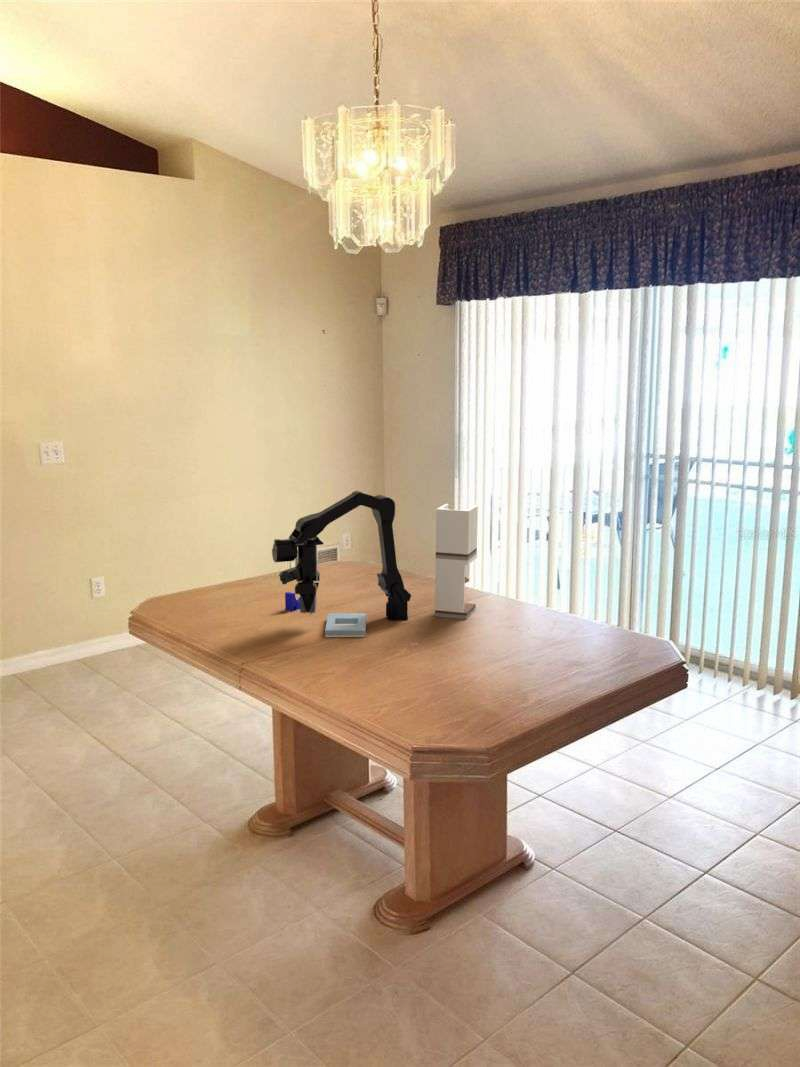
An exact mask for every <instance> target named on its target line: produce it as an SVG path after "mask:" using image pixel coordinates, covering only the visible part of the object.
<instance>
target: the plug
mask: <svg viewBox="0 0 800 1067" xmlns="http://www.w3.org/2000/svg"><path fill="white" fill-rule="evenodd" d="M299 597H300V609H299V612H300V614H309V615H313V614H314V613H316V609H317V594H316V595H315V598H314V600H313V603H312V606H311V608H310V611H309V612H306V610H305V606H304V602H303V599H302V596H301V595H300V594H299Z"/></svg>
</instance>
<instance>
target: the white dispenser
mask: <svg viewBox="0 0 800 1067" xmlns="http://www.w3.org/2000/svg"><path fill="white" fill-rule="evenodd" d="M449 505H450V504H449V503H445V504H443V505H441V506H440V507H437V508H436V511H435V570H434V571H435V572H434V573H435V576H434V577H435V578H434V579H435V580H434V582H435V583H434V585H435V586H434V588H435V589H434V616H435V617H439V618H448V619H449V618H451V619H461V620H468V619H469V618H470V617H471V615H472V614H473V613H475V612H476V609H477V608H476V603H468V602H465V594H466V593H465V590H466V589H465V588H466V587H465V585H466V584H467V583H468V582H470V578H471V577H470V574H471V573H470V571H471V570H470V569H471V568H470V567H471V566H470V565H471V563H472V562H473V561H474V560H475V559H476V558H478V555H477V554H478V514H479V513H478V512H479V510H478V506H479V505H477V504H475V505H473V506H472V507H470V508H467V509H450V508H449ZM469 616H470V617H469Z"/></svg>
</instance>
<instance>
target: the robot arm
mask: <svg viewBox="0 0 800 1067" xmlns="http://www.w3.org/2000/svg"><path fill="white" fill-rule="evenodd" d="M360 506H363V507H366V508H369V509H371V512H372V515H373V518H374V520H375V521H376V522H375V523H376V524H377V530H378V538H379V545H380V546H379V548H380V556H381V563H382V564H381V565H382V570H381V571H380V573H379V572H377V573H376V575H377V576H376V577H377V579H378V580H377V582H378V583H377V586H378V587H380V589H381V591H382V592H383V593H384V594H385V596H386V597H387V601H386V602H385V616H386V618H387V621H390V620H391V621H408V620H409V616H408V614H409V613H408V610H409V608H408V607H409V606H408V603H409V602H410V601H411V598H412V594H411V593H410V592H409V591H408V590H407V589H406V588H405V585H404V581H403V577H402V574H401V573H400V570H399V569H398V568H399V567H398V563H397V556H396V555H397V554H396V545H395V538H394V536H395V535H394V529H393V523H394V520H395V515H396V503H395V500H394V499H393V498H390V497H387V496H386V495H383V494H377V495H375V496H374V495H371V494H367V493H365V492H362V491H360V490H355V491H353V492H352V493H350V494H348V496H345V497H344V498H341V499H340V500H338V501H337V502H335V503H333V504H332V505H329V506H328V507H327V508H325V509H323V510H321V511H318V512H315V513H311V514H308V515H305V516H303V517H300V518H299V519H297V521H296V523H295V528H294V529H293V531H292V532H291V534H290V535H289V537H288V538H286V539H278V538H277V539H274V540H273V544H272V548H271V554H272V560H273V562H274V563H284V562H285V563H286V562H294V561H295V560H296V559H297V563H296V566H294V567H290V568H288V569H285V570H283V571H280V572H279V574H278V576H279V580H280V582H281V584H282V585H286V584H287V583H290V582H293V581H296V582H297V583H296V584H295V586H294V593H295V595H299V596H300V595H301V596H302V599H303V602H304V606H305V610H306V612H309V611H310V608H311V606H312V603H313V600H314V598H315V595H316V596H317V592H318V588H319V585H320V583H319V582H320V580H321V573H320V572H319V571H318V557H317V556H318V549H317V546H322V545H324V542H323V541H322V540H321V539H320V538H319V535H320V534H321V533H322V532H323V531H324V530H325V528H326V527H327V526H329V525H330V524H331V523H332V522H334V521H336V520H338V519H339V518H341V517H343V516H344V515H346V514H348V513H349V512H352V511H354V510H355V509H357V508H358V507H360Z"/></svg>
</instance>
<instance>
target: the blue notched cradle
mask: <svg viewBox="0 0 800 1067" xmlns="http://www.w3.org/2000/svg"><path fill="white" fill-rule="evenodd" d="M284 597H285V598H284V602H285V603H284V604H285V605H284V610H285V611H288V612H295V611H296V612H297V611H298V610H299V611H300V596H299V597H298V598H296V594H295V592H290V591H287V592H284Z"/></svg>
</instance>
